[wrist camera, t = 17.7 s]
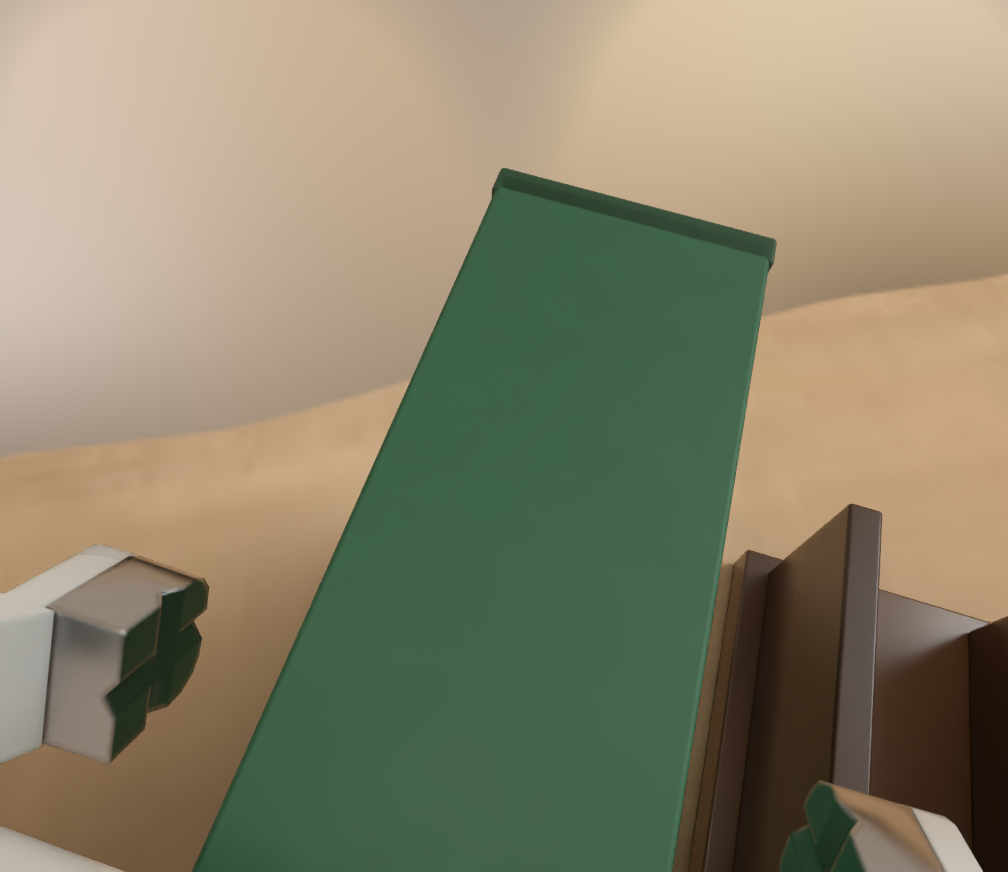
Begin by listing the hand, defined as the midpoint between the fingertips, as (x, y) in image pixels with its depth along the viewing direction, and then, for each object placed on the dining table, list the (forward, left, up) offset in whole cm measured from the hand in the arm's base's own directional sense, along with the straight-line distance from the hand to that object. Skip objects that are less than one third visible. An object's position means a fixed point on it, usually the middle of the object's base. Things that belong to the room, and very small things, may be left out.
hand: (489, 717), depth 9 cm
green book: (0, -2, -11) cm, 12 cm away
